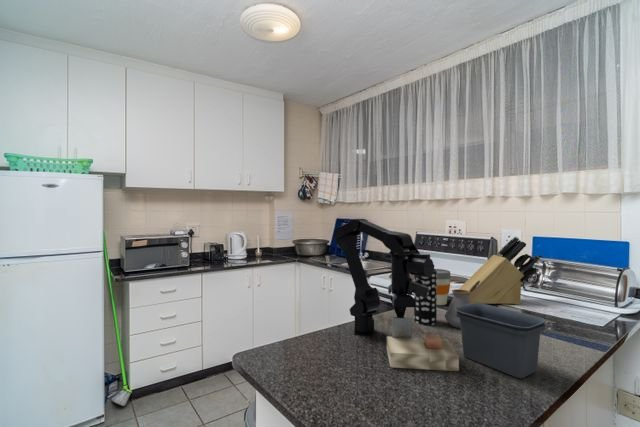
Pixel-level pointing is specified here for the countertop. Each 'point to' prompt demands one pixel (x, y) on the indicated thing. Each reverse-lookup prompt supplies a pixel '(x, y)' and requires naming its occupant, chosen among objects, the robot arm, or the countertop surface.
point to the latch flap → (401, 327)
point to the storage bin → (501, 338)
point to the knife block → (501, 276)
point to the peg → (432, 341)
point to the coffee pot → (458, 300)
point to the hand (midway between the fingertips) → (400, 322)
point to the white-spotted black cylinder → (426, 302)
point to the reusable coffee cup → (442, 286)
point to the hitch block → (421, 355)
